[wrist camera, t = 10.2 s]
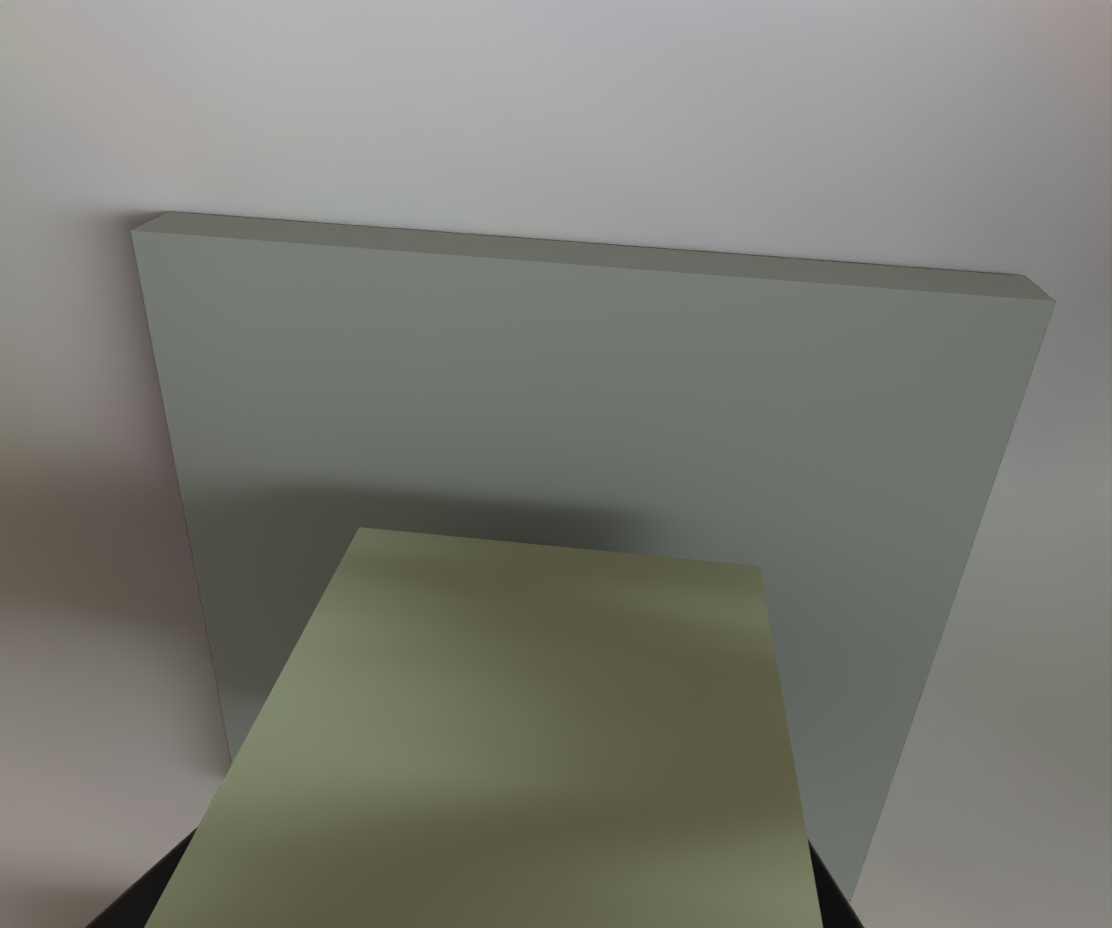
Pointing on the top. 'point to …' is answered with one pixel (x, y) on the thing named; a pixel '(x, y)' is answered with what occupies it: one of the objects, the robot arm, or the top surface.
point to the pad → (595, 440)
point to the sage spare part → (512, 752)
